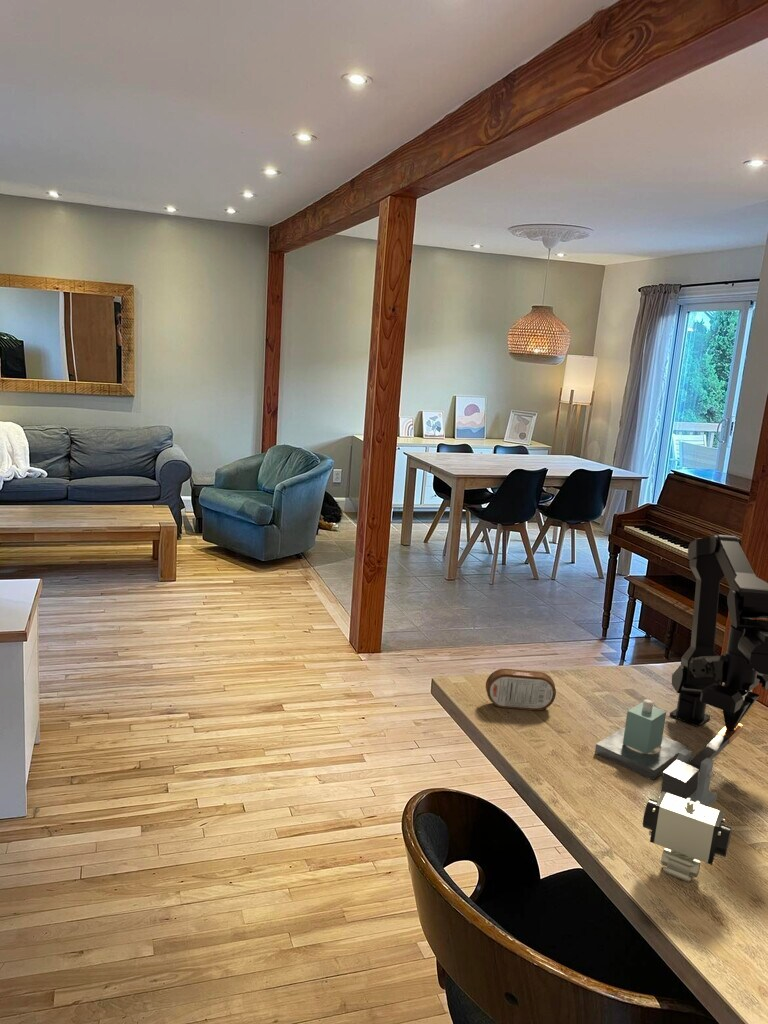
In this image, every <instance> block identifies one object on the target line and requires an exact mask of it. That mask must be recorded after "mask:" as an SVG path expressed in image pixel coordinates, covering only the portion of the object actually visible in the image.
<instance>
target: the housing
mask: <svg viewBox="0 0 768 1024" xmlns="http://www.w3.org/2000/svg"><path fill="white" fill-rule="evenodd" d="M666 716H667V711H665V710H663V709H661V708H658V707H656V706H654V701H653V700H651V699H643V701H642V702H640V703H639V704H637V705H635V706H633V707H631V708H630V709H628V710H627V713H626V719H625V726H624V727H625V732H624V739H623V744H624V745H627V746H629V747H631V748H633V749H636V750H638V751H640V752H642V753H645V754H648V753H650V752H651V751H652V750H654V749H655V748H657V747H658V746H660V745H661V743H662V737H663V736H664V729H665V723H666Z"/></svg>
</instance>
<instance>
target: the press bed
mask: <svg viewBox="0 0 768 1024" xmlns="http://www.w3.org/2000/svg"><path fill="white" fill-rule="evenodd" d="M624 732H625V726H624V727H622V728H620V729H619V730H617V731H615V732H613V733H611V734H609V735H608V736H607V737H605V738H603V739H602V740H600V741H598V742H596V743H595V751H594V753H595V754H596V755H598V756H600V757H602V758H605V759H606V760H609V761H611V762H613V763H615V764H617V765H618V766H619V765H620V766H621V767H624V768H625V769H627V770H630V771H632V772H634V773H636V774H638V775H641V776H643V777H645V778H647V779H649V780H651V781H653V780H654V779H657V778H658V777H659V776H661V774H662V775H663V772H664V771H665V770H666V769H667V768H668V767H669V766H670V765H671V764H672V763H673V762H674V761H676V759H677V757H678V755H679V752H681V751H682V750H683V749H688V748H689V747H688V745H685V744H683V743H681V742H679V741H676V740H675V739H674V740H673V739H672V738H669V737H666V736H664V735H663V737H662V743H661V745H660V746H658V747H657V748H655V749H654V750H652V751H651V752H650V753H648V754H645V753H642V752H640V751H638V750H636V749H633V748H631V747H629V746H627V745H624V744H623V739H624Z"/></svg>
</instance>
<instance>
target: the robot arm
mask: <svg viewBox="0 0 768 1024" xmlns="http://www.w3.org/2000/svg"><path fill="white" fill-rule="evenodd" d="M687 556H688V559H689V564H688V565H689V568H690V569H691V571H692V573H693V576H694V577H695V592H694V602H693V616H692V624H691V625H692V626H691V637H690V638H691V639H690V646H689V648H688V649H687V650H686V651H685V652H684V654H683V655H681V659H680V665H679V666H678V667H677V668H676V669H675V671H674V672H673V673H672V675H671V686H672V687H673V689H674V691H675V692H676V693H677V694H678V698H677V705H676V708H675V709H673V710H672V711H670V712H669V716H671V717H673V718H675V719H678V720H680V721H683V722H685V723H688V724H691V725H693V726H696V727H700V726H702V724H705V723H706V721H708V720H710V719H711V715H709V714H708V713H706V711H707V709H706V708H707V705H708V706H711V707H714V708H716V709H719V710H722V714H723V719H724V720H723V721H724V725H725V726H724V727H726V729H727V730H730V731H732V730H733V729H735V727H736V726H737V725H738V723H739V724H740V722H741V721H742V719H743V718H744V717H745V716H746V714H747V713H748V712H749V710H750V709H751V707H753V705H754V704H755V703H756V701H757V700H758V699H759V698H760V695H759V694H758V693H756V692H754V691H753V689H755V688H756V687H757V686H759V684H761V688H762V690H765V691H767V690H768V582H767V581H765V580H763V579H761V578H759V577H757V575H756V574H755V572H754V569H752V566H751V564H750V562H749V560H748V558H747V556H746V554H745V553H744V550H743V548H742V541H741V538H740V537H737V536H736V535H726V534H716V535H711V536H710V537H696V538H695V539H694V540H693V541H691V542H690V543H689V545H688V548H687ZM724 578H725V579H726V582H727V583H728V586H729V592H728V594H727V597H726V600H727V601H726V603H727V608H728V613H729V620H730V621H731V623H730V625H729V627H730V628H729V633H728V638H727V645H726V651H725V652H724V653H722V654H721V655H717V653H716V652H715V643H716V632H717V631H716V630H717V623H718V622H717V621H718V620H717V619H718V611H719V598H720V597H719V596H720V588H721V587H720V585H721V581H722V580H723V579H724ZM761 619H762V620H761ZM723 683H724V684H723Z"/></svg>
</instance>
